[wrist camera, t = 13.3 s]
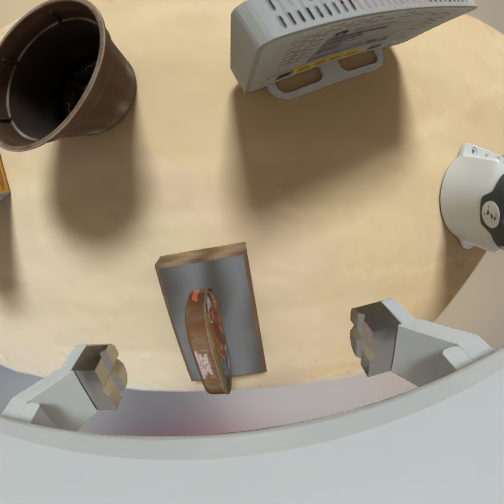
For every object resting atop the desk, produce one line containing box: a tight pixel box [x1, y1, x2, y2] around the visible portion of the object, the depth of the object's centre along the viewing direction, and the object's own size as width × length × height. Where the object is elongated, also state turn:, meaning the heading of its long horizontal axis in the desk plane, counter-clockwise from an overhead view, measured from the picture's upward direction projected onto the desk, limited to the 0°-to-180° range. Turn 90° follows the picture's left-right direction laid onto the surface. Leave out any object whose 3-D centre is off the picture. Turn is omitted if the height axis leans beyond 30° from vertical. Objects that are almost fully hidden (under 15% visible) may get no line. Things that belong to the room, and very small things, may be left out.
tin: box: [185, 288, 231, 394], centre depth 36 cm, size 15×3×8 cm, turn 8°
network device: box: [230, 0, 477, 100], centre depth 24 cm, size 26×9×20 cm, turn 116°
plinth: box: [155, 242, 267, 381], centre depth 42 cm, size 12×20×4 cm, turn 8°
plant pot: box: [0, 0, 136, 152], centre depth 25 cm, size 16×16×16 cm
